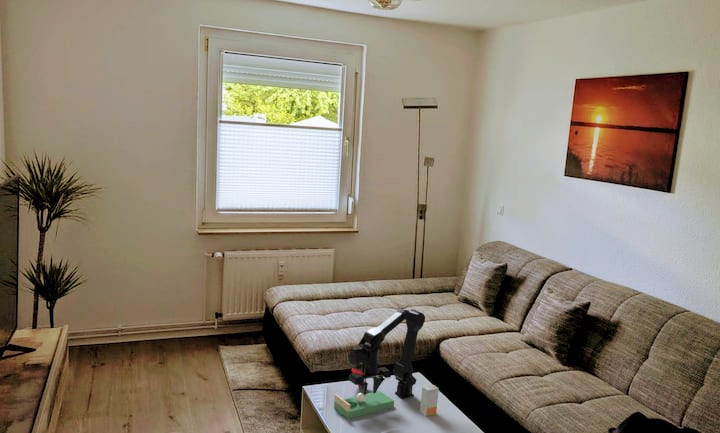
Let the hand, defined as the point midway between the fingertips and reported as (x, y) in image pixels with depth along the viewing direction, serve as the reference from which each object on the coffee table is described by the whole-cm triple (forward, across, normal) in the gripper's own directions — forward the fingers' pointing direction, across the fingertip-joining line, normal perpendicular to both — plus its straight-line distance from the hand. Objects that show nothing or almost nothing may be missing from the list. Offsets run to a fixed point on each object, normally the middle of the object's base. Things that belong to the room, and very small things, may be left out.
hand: (369, 394), depth 246 cm
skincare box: (+6, -20, +17) cm, 27 cm away
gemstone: (+6, -7, -17) cm, 19 cm away
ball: (+2, +3, 0) cm, 4 cm away
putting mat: (+6, +2, 0) cm, 6 cm away
